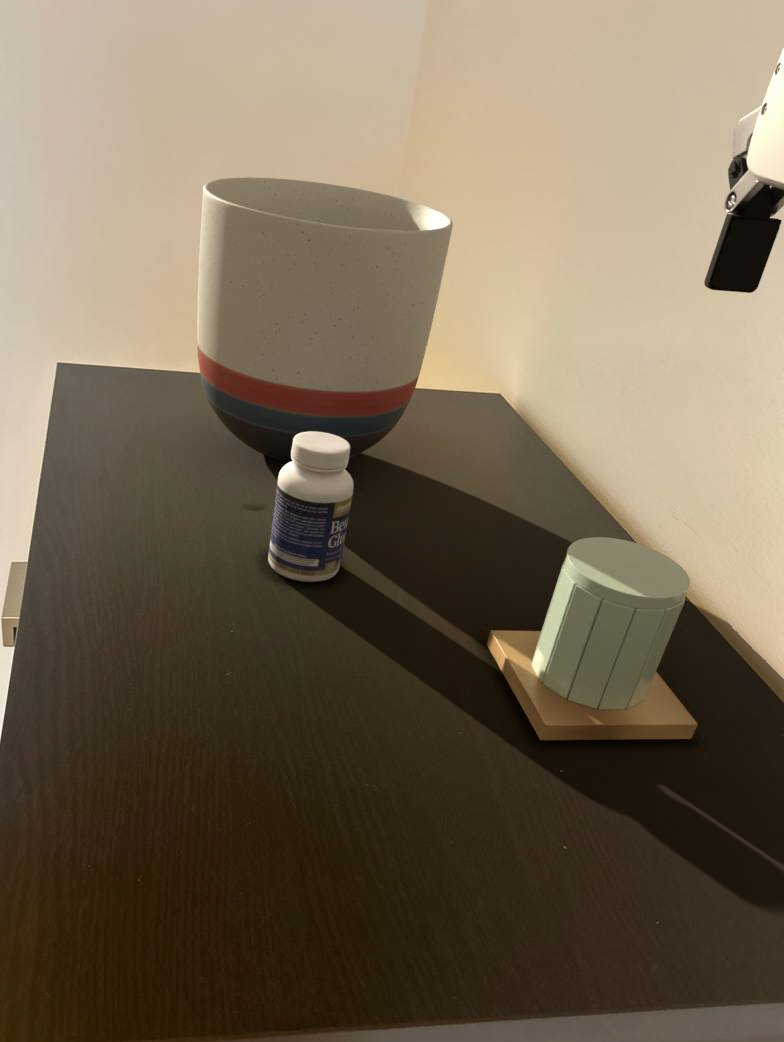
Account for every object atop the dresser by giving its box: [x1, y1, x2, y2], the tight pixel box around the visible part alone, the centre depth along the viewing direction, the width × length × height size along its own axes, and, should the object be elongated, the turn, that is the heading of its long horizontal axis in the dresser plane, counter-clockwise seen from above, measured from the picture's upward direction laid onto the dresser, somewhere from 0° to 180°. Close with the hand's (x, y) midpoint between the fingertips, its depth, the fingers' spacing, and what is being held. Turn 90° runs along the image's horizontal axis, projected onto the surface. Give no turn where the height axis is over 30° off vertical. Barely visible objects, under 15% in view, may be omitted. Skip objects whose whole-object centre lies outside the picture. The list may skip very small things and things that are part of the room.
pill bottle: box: [267, 431, 355, 583], centre depth 67 cm, size 5×5×10 cm
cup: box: [531, 536, 691, 710], centre depth 58 cm, size 7×7×8 cm
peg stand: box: [486, 629, 698, 741], centre depth 58 cm, size 10×10×7 cm
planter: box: [196, 176, 454, 463], centre depth 82 cm, size 20×20×21 cm
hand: (777, 313), depth 51 cm, fingers open, 9 cm apart
